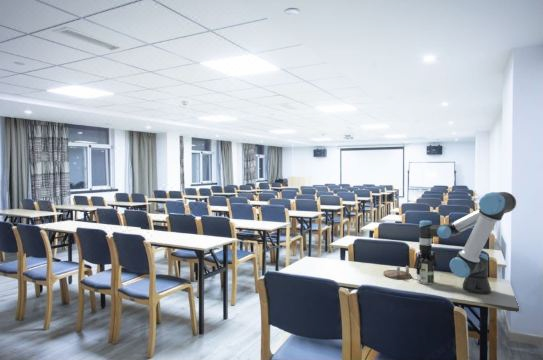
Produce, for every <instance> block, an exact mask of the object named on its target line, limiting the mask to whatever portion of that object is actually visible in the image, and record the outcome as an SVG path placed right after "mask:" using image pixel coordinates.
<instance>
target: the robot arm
mask: <svg viewBox="0 0 543 360" xmlns="http://www.w3.org/2000/svg"><path fill="white" fill-rule="evenodd" d="M516 206H517V200H516V197H515V196H514V195H513V194H511V192H506V191H499V192H494V191H492V192H487V193H486V194H484V195H482V196H481V197H480V198H479V201H478V207H479V208H478V209H476V210H474V211H472V212H470V213H468V214H466V215H464V216H463V217H460V218H459V219H457V220H454V221H453V222H450V223H447V224H441V225H438V224H433V222H432V220H425V219H424V220H423V219H422V220H420V221H419V225H418V229H419V230H418V231H419V233H418V234H419V238H418V239H419V240H418V241H419V247H418V249H419V252H416V254H415V256H416V257H415V262H414V265H413V268H414V269H416V277H417V279H419V280H421V270H420V269H421V263H419V262H420V261H422V262H423V261H424V260H425V259H427V260H430V261H432V260H433V261H434V269H436V267H437V266H438V265H437V259H436V256H435V255H436V254H435V251H432V250H433V248H432V247H433V237H435V238H440V239H449V238H450V237H453V236H454V237H455V236H458V235H460V234H461V233H462V232H464V231H466V230H469V229H470V228H472V227H473V228H472V230H471V233H470V234H469V237H468V238H467V241H466V242H465V245H464V246H463V249H460V250H459V251H458V252H457V254H456V257H453V258H452V259H451V260H450V261H449V269H450V270H451V272H452V274H453V275H454V276H456V277H458V278H464V280H463V283H462V289H463V291H465V292H469V293H471V292H472V294H476V295H477V294H478V295H489V294H491V293H492V288H491V285H490V282H489V256H488V254H486V253H484V252H482V251H483V249H484V247H485V245H486V243H487V241H488V239H489V237H490V235H491V233H492V231H493V229H494V228H495V226H496V224H497V222H499V221H502V218H503V216H504V215H505V214H507V213H510V212H513V210H515V208H516ZM418 267H419V268H418ZM488 293H489V294H488Z"/></svg>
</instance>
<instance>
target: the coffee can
mask: <svg viewBox="0 0 543 360" xmlns="http://www.w3.org/2000/svg"><path fill="white" fill-rule="evenodd" d="M419 263H421V269H420V270H421V280H419V279H417V280H416V282H418V283H419V284H423V285H434V283H435V268H434V261H433V260H432V261H430V260H427V259H425V260H424V261H423V262H422V261H420V262H419ZM418 268H419V267H418Z"/></svg>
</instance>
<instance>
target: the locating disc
mask: <svg viewBox="0 0 543 360" xmlns="http://www.w3.org/2000/svg"><path fill="white" fill-rule="evenodd" d="M382 274H383V276H384V277H386V278H389V279H393V280H400V281H401V280H402V281H403V280H408V279H409V280H410V279H411V277H412V274H411V273H410V266H409V265H405V270H401V267H400V266H397V267H396V269H387V270H384V271H383V273H382Z"/></svg>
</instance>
